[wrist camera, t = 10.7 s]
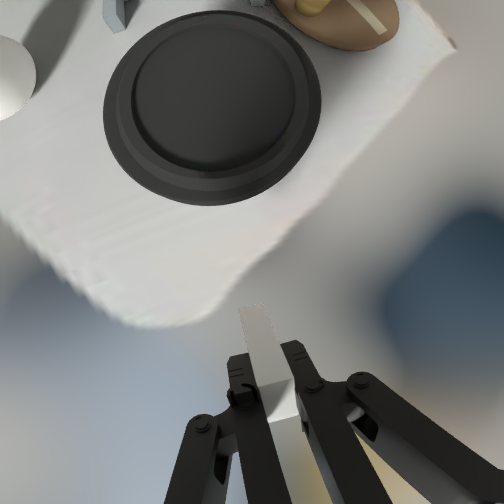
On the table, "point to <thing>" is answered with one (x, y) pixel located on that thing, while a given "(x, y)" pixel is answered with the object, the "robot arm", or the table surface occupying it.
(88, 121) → the table surface
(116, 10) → the pocket stop
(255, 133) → the coffee cup
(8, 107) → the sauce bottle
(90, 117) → the table surface
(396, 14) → the disc
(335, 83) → the table surface
